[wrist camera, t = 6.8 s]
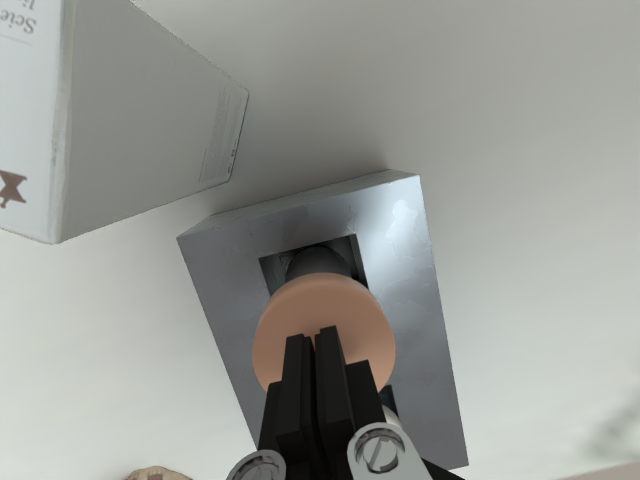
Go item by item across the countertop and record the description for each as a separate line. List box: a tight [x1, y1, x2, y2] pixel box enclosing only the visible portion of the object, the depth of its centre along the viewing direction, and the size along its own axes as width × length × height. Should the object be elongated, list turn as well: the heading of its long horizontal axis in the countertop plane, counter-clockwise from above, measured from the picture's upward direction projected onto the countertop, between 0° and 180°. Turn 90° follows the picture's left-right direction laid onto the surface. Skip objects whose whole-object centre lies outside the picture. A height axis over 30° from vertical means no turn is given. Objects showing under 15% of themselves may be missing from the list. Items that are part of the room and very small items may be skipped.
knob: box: [252, 247, 396, 393], centre depth 15 cm, size 5×5×8 cm
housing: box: [176, 169, 469, 470], centre depth 21 cm, size 12×18×6 cm, turn 14°
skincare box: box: [0, 0, 248, 245], centre depth 13 cm, size 8×6×15 cm
